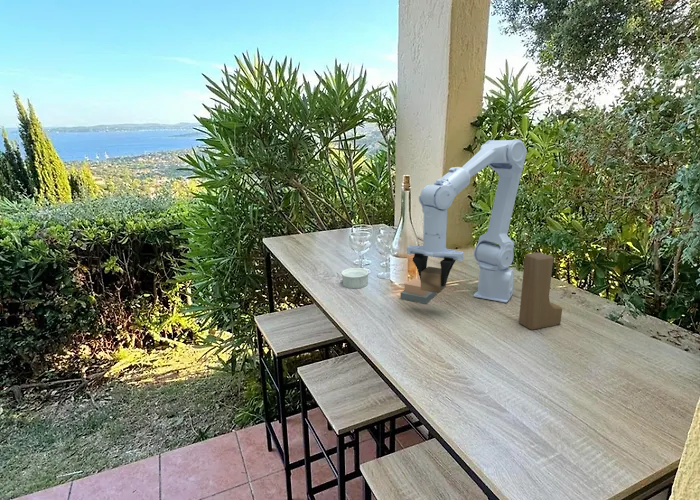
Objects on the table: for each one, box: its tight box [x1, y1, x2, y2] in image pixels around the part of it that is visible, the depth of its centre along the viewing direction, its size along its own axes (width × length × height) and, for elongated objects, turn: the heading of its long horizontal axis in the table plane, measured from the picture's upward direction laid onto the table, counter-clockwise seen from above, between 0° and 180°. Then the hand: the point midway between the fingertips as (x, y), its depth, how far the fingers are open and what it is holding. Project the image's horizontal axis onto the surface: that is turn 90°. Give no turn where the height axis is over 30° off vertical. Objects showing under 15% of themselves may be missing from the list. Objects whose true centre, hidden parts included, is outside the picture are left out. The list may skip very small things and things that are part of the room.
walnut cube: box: [421, 265, 447, 294], centre depth 103 cm, size 5×5×5 cm
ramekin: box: [341, 267, 370, 290], centre depth 128 cm, size 9×9×4 cm
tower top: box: [404, 277, 429, 296], centre depth 116 cm, size 6×6×2 cm
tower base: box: [399, 289, 438, 305], centre depth 117 cm, size 8×8×2 cm
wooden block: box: [518, 252, 563, 331], centre depth 96 cm, size 9×4×18 cm, turn 108°
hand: (433, 283), depth 104 cm, fingers closed on walnut cube, 5 cm apart
